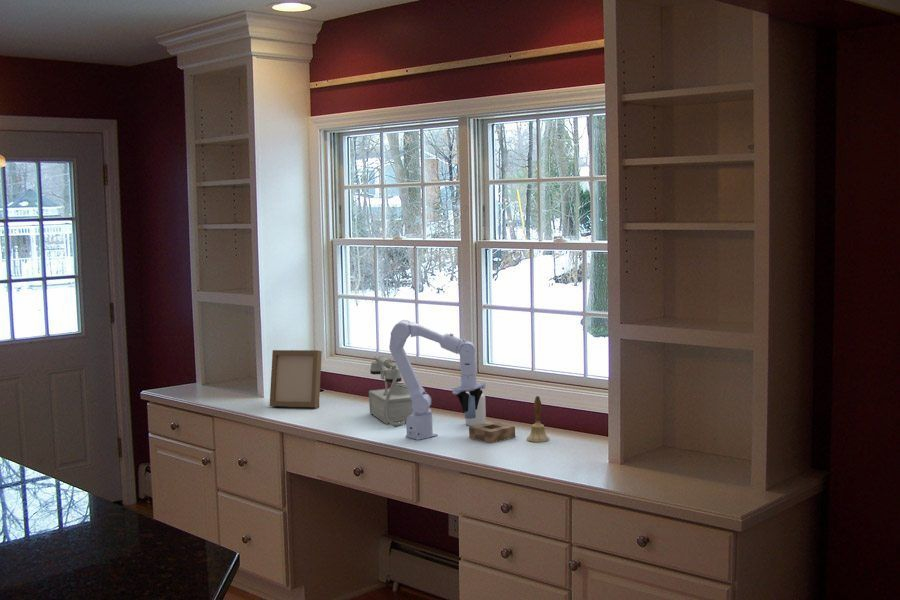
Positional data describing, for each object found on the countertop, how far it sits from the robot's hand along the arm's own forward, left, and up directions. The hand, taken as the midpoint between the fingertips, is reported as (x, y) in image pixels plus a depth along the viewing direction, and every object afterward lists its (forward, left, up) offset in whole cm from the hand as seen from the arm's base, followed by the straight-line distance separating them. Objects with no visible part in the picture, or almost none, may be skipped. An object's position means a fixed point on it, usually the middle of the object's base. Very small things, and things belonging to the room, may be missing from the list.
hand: (470, 410), depth 364 cm
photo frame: (-15, +101, -10) cm, 102 cm away
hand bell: (+12, -23, -10) cm, 28 cm away
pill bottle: (+13, +13, -10) cm, 21 cm away
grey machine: (-1, +46, -10) cm, 47 cm away
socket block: (+3, -8, -10) cm, 13 cm away
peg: (0, 0, -3) cm, 3 cm away
